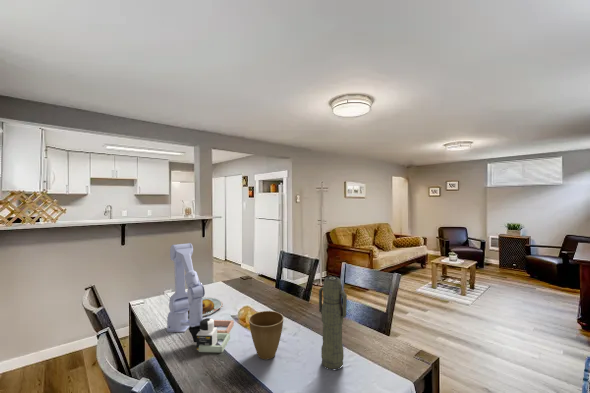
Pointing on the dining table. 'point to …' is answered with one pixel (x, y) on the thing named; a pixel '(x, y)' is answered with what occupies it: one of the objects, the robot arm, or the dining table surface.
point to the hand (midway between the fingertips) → (195, 341)
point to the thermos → (332, 321)
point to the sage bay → (216, 347)
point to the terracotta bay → (224, 323)
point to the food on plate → (210, 305)
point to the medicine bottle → (207, 333)
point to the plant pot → (266, 332)
